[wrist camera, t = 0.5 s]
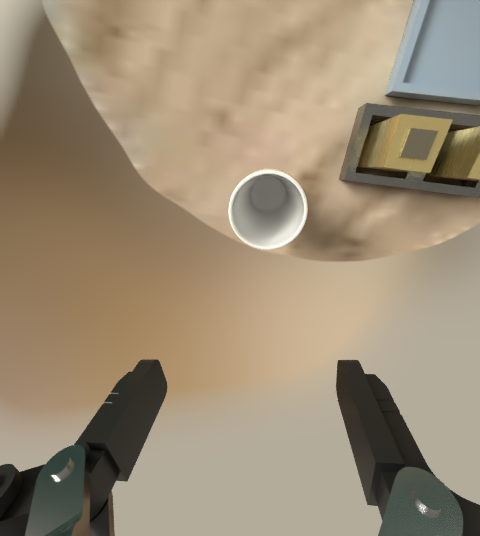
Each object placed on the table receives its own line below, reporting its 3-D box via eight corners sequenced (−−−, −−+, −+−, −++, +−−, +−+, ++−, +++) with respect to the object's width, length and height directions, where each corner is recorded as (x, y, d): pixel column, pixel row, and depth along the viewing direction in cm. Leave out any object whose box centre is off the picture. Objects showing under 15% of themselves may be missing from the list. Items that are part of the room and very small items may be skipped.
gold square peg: (435, 134, 28) (497, 123, 20) (474, 139, 28) (552, 129, 20) (419, 174, 30) (470, 177, 22) (455, 179, 30) (520, 184, 22)
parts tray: (427, -43, 22) (439, -59, 21) (548, -34, 22) (571, -50, 20) (384, 95, 27) (392, 90, 25) (483, 106, 26) (497, 102, 25)
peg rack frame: (358, 108, 28) (366, 103, 26) (499, 123, 27) (520, 120, 25) (339, 179, 31) (344, 180, 29) (463, 195, 30) (479, 197, 28)
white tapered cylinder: (263, 156, 31) (258, 149, 17) (303, 186, 32) (327, 203, 18) (235, 199, 34) (212, 221, 20) (272, 226, 35) (274, 265, 21)
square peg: (368, 126, 28) (403, 112, 21) (406, 131, 28) (456, 118, 21) (356, 166, 30) (385, 167, 23) (391, 171, 30) (432, 173, 22)
